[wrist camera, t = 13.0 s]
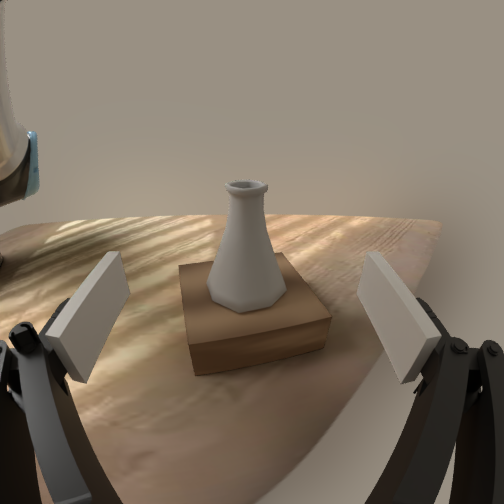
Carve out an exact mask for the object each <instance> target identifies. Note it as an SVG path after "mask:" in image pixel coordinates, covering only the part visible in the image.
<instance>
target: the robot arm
mask: <svg viewBox="0 0 504 504" xmlns="http://www.w3.org/2000/svg"><path fill="white" fill-rule="evenodd" d="M6 1H7V0H0V207H1V206H4V205H7V204H9V203H12V202H15V201H18V200H20V199H22V200H24V199H25V198H26V197H29V196H31V195H34V194H35V193H36V192H37V191H38V189H39V170H38V149H37V134H36V132H30V131H29V132H27V131H26V129H25V128H24V126H23V125H21V124H20V123H19V122H16V121H15V117H14V112H13V108H12V102H11V97H10V91H9V84H8V77H7V69H6V58H5V43H4V11H5V10H4V9H5V3H6ZM1 264H2V256H1V253H0V266H1ZM129 295H130V291H129V287H128V283H127V279H126V276H125V271H124V267H123V263H122V259H121V254H120V251H108V252H107V253H106V254H105V256H104V257H103V258H102V259H101V260H100V262H99V263H98V264H97V265H96V266H95V268H94V269H93V270H92V271H91V273H90V274H89V275H88V276H87V278H86V279H85V280H84V281H83V283H82V284H81V285H80V287H79V288H78V289H77V291H76V292H75V293H74V294H73V296H72V297H71V298H67V299H66V300H65V301H64V302H62V303H61V304H60V305H59V306H58V308H57V309H56V310H55V313H53V315H52V316H51V318H50V319H49V320H48V322H47V323H46V325H45V326H44V327H43V329H42V330H41V332H40V333H39V335H38V334H37V332H36V331H35V329H34V327H33V325H32V324H31V323H30V322H22V323H19V324H17V325H16V326H15V327H14V328H12V330H11V331H10V333H9V339H10V341H11V342H12V344H13V346H14V347H15V348H11V349H9V347H8V345H7V344H6V342H5V341H3V340H0V504H42V502H41V497H40V491H39V486H38V479H37V472H36V463H35V453H36V457H37V460H38V463H39V466H40V469H41V472H42V475H43V477H44V480H45V483H46V485H47V488H48V490H49V493H50V495H51V497H52V500H53V502H54V504H123V503H122V501H121V500H120V498H119V497H118V495H117V493H116V492H115V490H114V488H113V487H112V485H111V483H110V481H109V480H108V478H107V476H106V474H105V472H104V470H103V469H102V467H101V465H100V463H99V461H98V459H97V457H96V455H95V453H94V451H93V448H92V446H91V444H90V442H89V440H88V437H87V435H86V433H85V430H84V428H83V425H82V423H81V420H80V418H79V415H78V413H77V410H76V407H75V404H74V402H73V399H72V396H71V393H70V390H69V386H68V383H67V381H66V380H65V378H64V377H65V375H66V373H67V372H68V374H69V375H70V377H71V378H72V380H74V381H78V382H82V383H87V381H88V379H89V376H90V374H91V372H92V370H93V367H94V365H95V363H96V361H97V359H98V356H99V354H100V352H101V350H102V348H103V346H104V344H105V342H106V340H107V337H108V335H109V333H110V331H111V329H112V327H113V325H114V323H115V321H116V319H117V318H118V316H119V314H120V312H121V310H122V308H123V306H124V304H125V302H126V300H127V299H128V297H129ZM357 296H358V297H359V299H360V301H361V303H362V305H363V307H364V309H365V311H366V313H367V315H368V317H369V319H370V321H371V323H372V325H373V327H374V329H375V331H376V333H377V335H378V337H379V339H380V341H381V343H382V345H383V347H384V349H385V351H386V353H387V355H388V357H389V360H390V362H391V364H392V366H393V368H394V371H395V373H396V375H397V377H398V380H399V382H400V384H404V383H407V382H411V381H415V379H416V378H417V376H418V375H419V373H420V372H421V374H422V376H423V379H422V381H421V382H420V384H419V385H418V387H417V388H416V389H415V391H414V392H413V393H414V394H415V393H416V392H417V395H416V397H415V400H414V403H413V406H412V408H411V411H410V414H409V416H408V419H407V421H406V424H405V426H404V429H403V431H402V434H401V436H400V438H399V440H398V443H397V445H396V447H395V449H394V451H393V453H392V455H391V457H390V460H389V461H388V463H387V465H386V467H385V469H384V471H383V473H382V475H381V477H380V478H379V480H378V482H377V484H376V486H375V487H374V489H373V491H372V492H371V494H370V496H369V497H368V499H367V500H366V502H365V504H434V502H435V500H436V497H437V495H438V493H439V490H440V488H441V485H442V482H443V480H444V477H445V474H446V471H447V468H448V465H449V462H450V459H451V456H452V453H453V449H454V446H455V442H456V451H455V463H454V474H453V482H452V488H451V495H450V500H449V504H504V353H503V350H502V348H501V347H500V346H499V345H498V343H496V342H495V341H492V340H486V341H484V343H483V344H482V346H481V347H480V349H478V348H469V346H468V345H467V343H466V342H464V341H463V340H461V339H460V338H456V337H451V336H450V335H449V333H448V332H447V330H446V329H445V327H444V326H443V325H442V323H441V322H440V320H439V319H438V318H437V316H436V315H435V314H434V313H433V311H432V309H431V308H430V307H429V305H428V304H427V303H426V302H424V301H423V300H422V299H420V298H415V297H414V296H413V294H412V293H411V292H410V290H409V289H408V288H407V286H406V285H405V284H404V282H403V281H402V280H401V279H400V277H399V276H398V275H397V273H396V272H395V271H394V270H393V268H392V267H391V266H390V265H389V263H388V262H387V261H386V260H385V259H384V257H383V256H382V255H381V254H380V253H379V252H366V256H365V261H364V265H363V269H362V274H361V278H360V282H359V286H358V290H357ZM7 385H8V386H9V392H8V391H7ZM481 386H482V388H483V389H482V392H481ZM34 450H35V453H34Z"/></svg>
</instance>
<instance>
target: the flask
mask: <svg viewBox="0 0 504 504" xmlns="http://www.w3.org/2000/svg"><path fill="white" fill-rule="evenodd" d="M225 188H226V190H227V191H228V192H229V212H228V217H227V223H226V228H225V231H224V234H223V237H222V240H221V243H220V246H219V249H218V252H217V255H216V258H215V260H214V263H213V265H212V268H211V271H210V273H209V276H208V279H207V282H206V284H207V286H208V289H209V292H210V295H211V298H212V300H213V301H215V302H217V303H219V304H221V305H223V306H225V307H227V308H229V309H231V310H233V311H236V312H238V313H242V312H247V311H251V310H256V309H261V308H266V307H270V306H272V305H273V304H274V303H275V302H276V301H277V300H278V299H279V298H280V297H281V296H282V295H283V294H284V293H285V292H286V291H287V289H286V286H285V282H284V280H283V277H282V274H281V271H280V268H279V266H278V263H277V260H276V257H275V254H274V251H273V248H272V245H271V242H270V239H269V235H268V232H267V228H266V222H265V216H264V210H263V208H264V206H263V205H264V193H265V192H267V190H268V185H266V184H265V183H263V182H261V181H255V180H235V181H232V182H229V183H225Z"/></svg>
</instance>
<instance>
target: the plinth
mask: <svg viewBox="0 0 504 504" xmlns="http://www.w3.org/2000/svg"><path fill="white" fill-rule="evenodd" d="M274 254H275V257H276V260H277V263H278V266H279V268H280V271H281V274H282V277H283V280H284V282H285V286H286V289H287V291H286V292H285V293H284V294H283V295H282V296H281V297H280V298H279V299H278V300H277V301H276V302H275V303H274V304H273V305H272V306H270V307H266V308H261V309H256V310H251V311H247V312H242V313H238V312H236V311H233V310H231V309H229V308H227V307H225V306H223V305H221V304H219V303H217V302H215V301H213V300H212V298H211V295H210V292H209V289H208V286H207V284H206V282H207V279H208V276H209V273H210V271H211V268H212V265H213V263H214V261H209V262H201V263H193V264H185V265H179V275H180V284H181V293H182V302H183V310H184V317H185V324H186V331H187V338H188V345H189V350H190V354H191V359H192V363H193V368H194V372H195V376H196V375H203V374H209V373H216V372H221V371H227V370H233V369H238V368H243V367H248V366H253V365H258V364H262V363H267V362H271V361H275V360H280V359H284V358H288V357H292V356H296V355H300V354H303V353H307V352H311V351H315V350H318V349H322V348H324V345H325V342H326V338H327V334H328V330H329V326H330V323H331V319H332V316H331V314H330V313H329V312H328V311H327V309H326V308H325V307H324V305H323V304H322V303H321V302H320V300H319V299H318V298H317V296H316V295H315V294H314V293H313V291H312V290H311V289H310V287H309V286H308V285H307V284H306V282H305V281H304V280H303V279H302V277H301V276H300V275H299V273H298V272H297V271H296V270H295V268H294V267H293V266H292V265H291V263H290V262H289V261H288V260H287V258H286V257H285V256H284V255H283V253H282V252H280V253H274Z"/></svg>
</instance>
